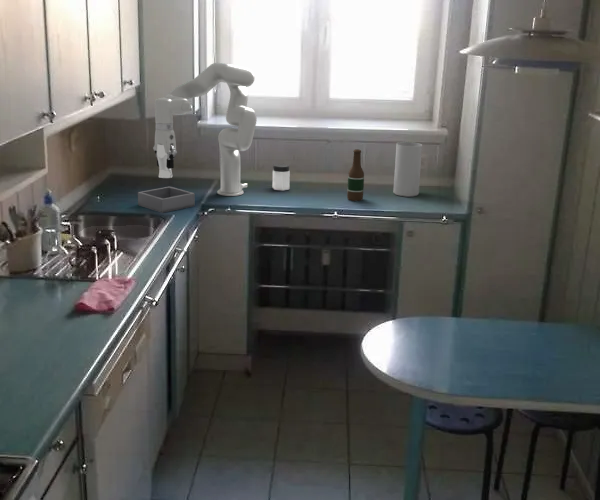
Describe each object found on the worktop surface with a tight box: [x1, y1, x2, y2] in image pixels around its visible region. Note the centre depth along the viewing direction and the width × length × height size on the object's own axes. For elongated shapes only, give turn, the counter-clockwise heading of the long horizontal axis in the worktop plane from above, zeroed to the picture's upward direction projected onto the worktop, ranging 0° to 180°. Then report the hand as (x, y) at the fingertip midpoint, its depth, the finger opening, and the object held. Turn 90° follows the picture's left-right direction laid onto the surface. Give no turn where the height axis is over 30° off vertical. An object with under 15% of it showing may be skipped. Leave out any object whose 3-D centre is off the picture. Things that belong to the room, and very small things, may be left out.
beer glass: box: [156, 144, 173, 179], centre depth 337 cm, size 7×7×15 cm
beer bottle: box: [346, 149, 365, 202], centre depth 361 cm, size 8×8×24 cm
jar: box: [272, 163, 291, 191], centre depth 381 cm, size 9×8×12 cm
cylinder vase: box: [392, 141, 423, 198], centre depth 375 cm, size 12×12×25 cm
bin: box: [137, 186, 196, 214], centre depth 343 cm, size 18×18×6 cm
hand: (165, 166), depth 338 cm, fingers closed on beer glass, 6 cm apart
